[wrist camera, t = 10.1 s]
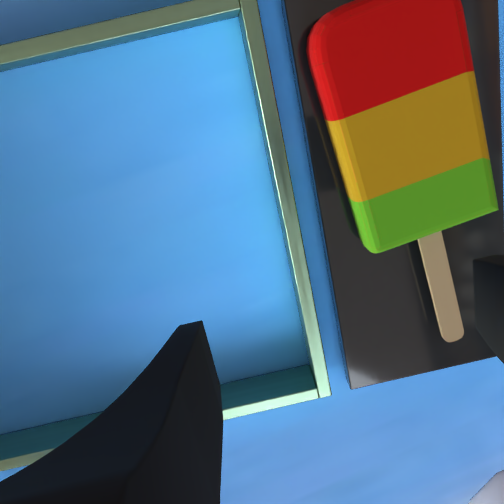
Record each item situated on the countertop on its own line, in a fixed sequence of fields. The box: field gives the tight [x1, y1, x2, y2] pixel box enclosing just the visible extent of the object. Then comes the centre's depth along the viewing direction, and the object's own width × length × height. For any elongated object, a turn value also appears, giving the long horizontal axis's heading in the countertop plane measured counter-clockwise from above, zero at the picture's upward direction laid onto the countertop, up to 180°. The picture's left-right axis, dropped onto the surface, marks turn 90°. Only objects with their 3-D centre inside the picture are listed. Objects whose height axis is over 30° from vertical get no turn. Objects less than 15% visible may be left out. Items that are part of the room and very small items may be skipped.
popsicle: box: [306, 0, 499, 342], centre depth 19 cm, size 6×15×2 cm, turn 20°
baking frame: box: [0, 0, 332, 471], centre depth 20 cm, size 17×20×2 cm
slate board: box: [281, 0, 504, 389], centre depth 20 cm, size 19×8×1 cm, turn 12°
